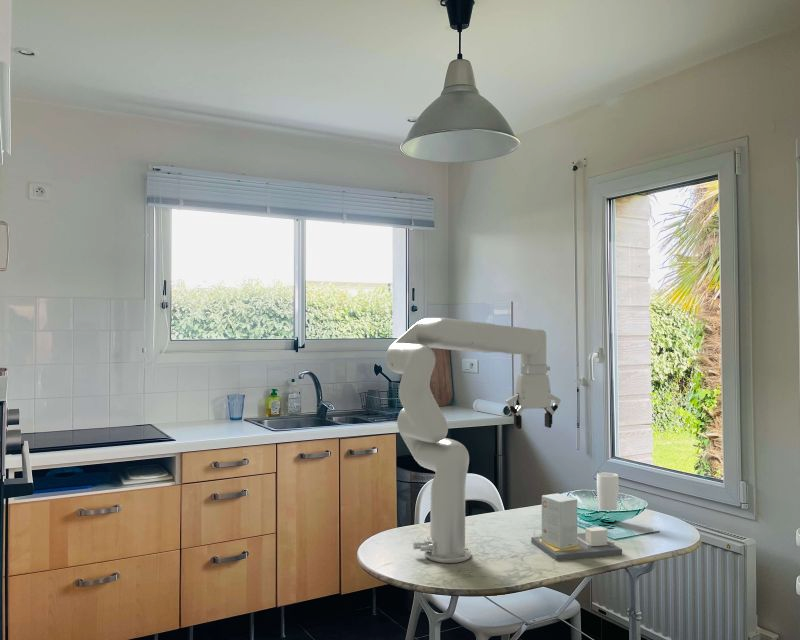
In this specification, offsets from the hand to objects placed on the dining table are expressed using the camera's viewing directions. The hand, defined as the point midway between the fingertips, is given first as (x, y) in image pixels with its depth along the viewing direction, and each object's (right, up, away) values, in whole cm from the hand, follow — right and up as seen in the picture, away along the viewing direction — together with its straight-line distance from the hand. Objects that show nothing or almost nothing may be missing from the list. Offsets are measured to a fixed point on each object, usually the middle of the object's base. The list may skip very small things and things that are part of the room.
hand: (533, 427), depth 198 cm
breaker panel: (+10, -32, -11) cm, 35 cm away
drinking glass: (+27, -33, +15) cm, 45 cm away
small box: (+5, -31, -12) cm, 33 cm away
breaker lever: (+15, -31, -12) cm, 36 cm away
